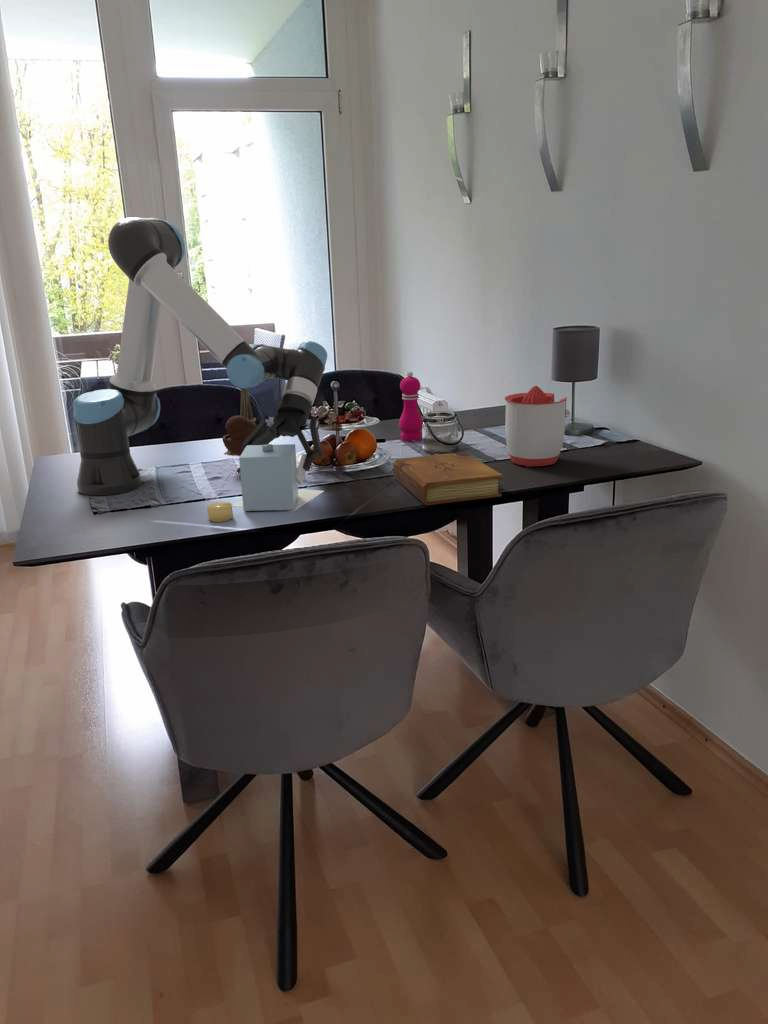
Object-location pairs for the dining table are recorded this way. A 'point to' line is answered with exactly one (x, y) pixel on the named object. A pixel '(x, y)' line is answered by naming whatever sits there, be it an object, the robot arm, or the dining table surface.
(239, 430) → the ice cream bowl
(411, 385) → the pepper mill
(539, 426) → the citrus juicer
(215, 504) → the yellow short cylinder
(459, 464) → the diary
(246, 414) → the eiffel tower
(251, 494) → the cover
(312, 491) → the mat
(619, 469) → the dining table surface
